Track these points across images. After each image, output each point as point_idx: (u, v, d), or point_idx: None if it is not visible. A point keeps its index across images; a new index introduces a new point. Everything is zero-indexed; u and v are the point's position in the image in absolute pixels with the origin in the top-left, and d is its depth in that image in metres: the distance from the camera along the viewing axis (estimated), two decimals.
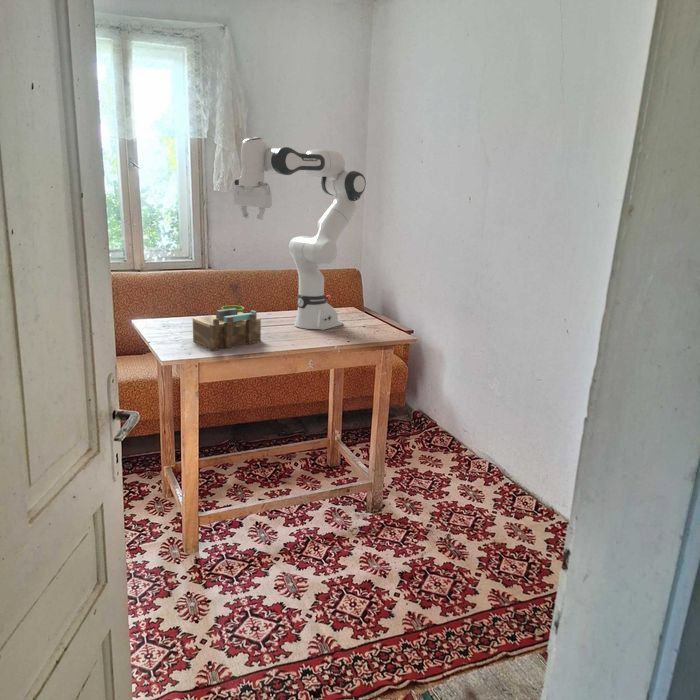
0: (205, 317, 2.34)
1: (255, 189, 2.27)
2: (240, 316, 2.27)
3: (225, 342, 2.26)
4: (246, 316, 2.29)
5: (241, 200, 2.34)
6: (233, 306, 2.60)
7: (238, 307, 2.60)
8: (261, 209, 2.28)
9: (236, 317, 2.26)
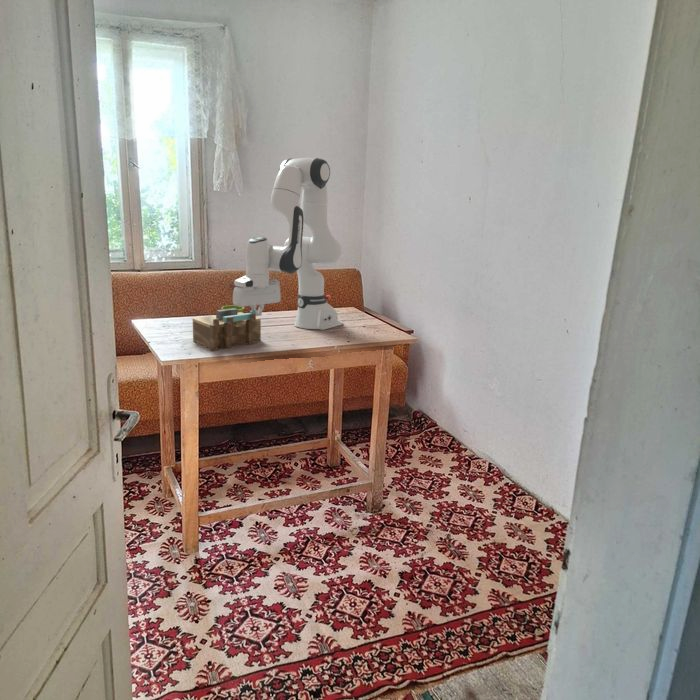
0: (205, 317, 2.34)
1: (269, 287, 2.32)
2: (239, 316, 2.27)
3: (225, 342, 2.26)
4: (245, 316, 2.29)
5: (249, 300, 2.27)
6: (233, 306, 2.60)
7: (238, 307, 2.60)
8: None
9: (235, 317, 2.26)
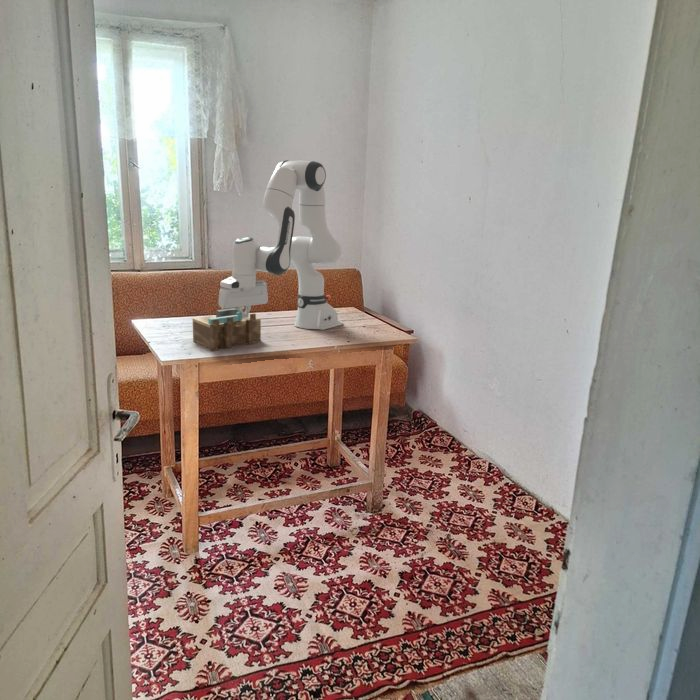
0: (205, 317, 2.34)
1: (256, 288, 2.28)
2: (225, 318, 2.23)
3: (225, 342, 2.26)
4: None
5: (236, 301, 2.23)
6: None
7: None
8: None
9: (221, 319, 2.22)
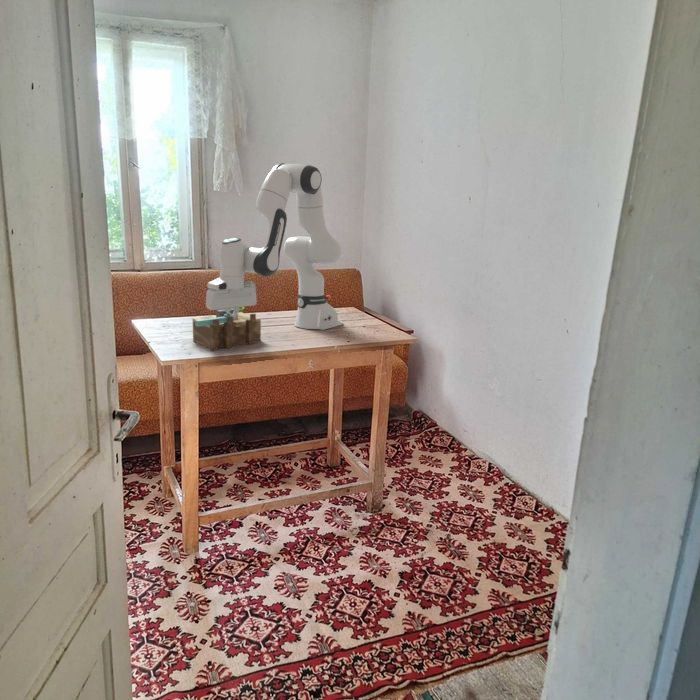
0: (205, 317, 2.34)
1: (244, 289, 2.24)
2: (212, 320, 2.19)
3: (225, 342, 2.26)
4: (219, 320, 2.21)
5: (223, 303, 2.19)
6: None
7: None
8: None
9: (208, 321, 2.18)
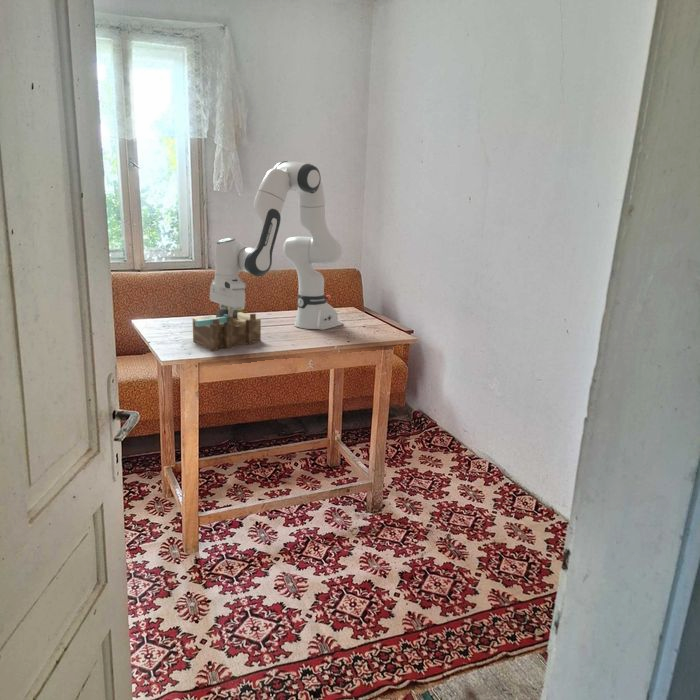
0: (205, 317, 2.34)
1: None
2: (212, 320, 2.19)
3: (225, 342, 2.26)
4: (219, 320, 2.21)
5: None
6: None
7: None
8: None
9: (208, 321, 2.18)
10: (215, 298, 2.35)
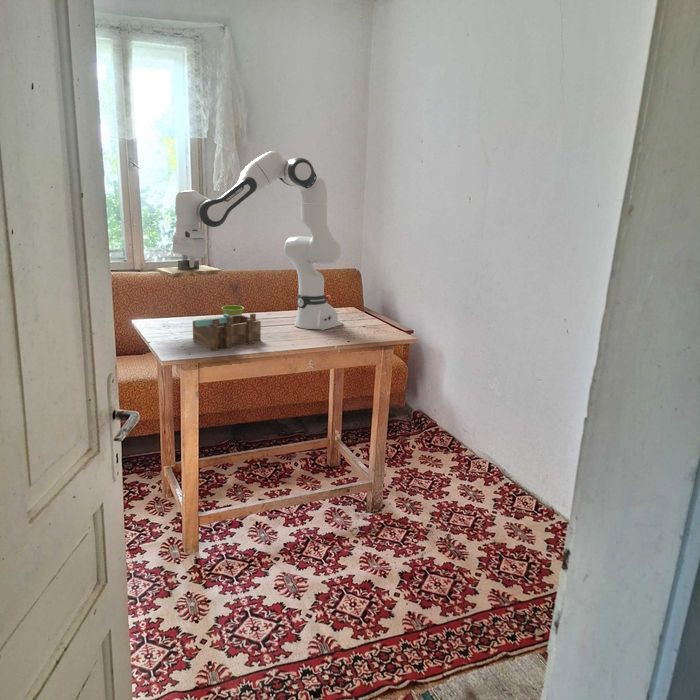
0: (167, 268, 2.43)
1: None
2: (212, 320, 2.19)
3: (225, 342, 2.26)
4: (219, 320, 2.21)
5: None
6: (233, 306, 2.60)
7: (238, 307, 2.60)
8: None
9: (208, 321, 2.18)
10: (177, 249, 2.43)
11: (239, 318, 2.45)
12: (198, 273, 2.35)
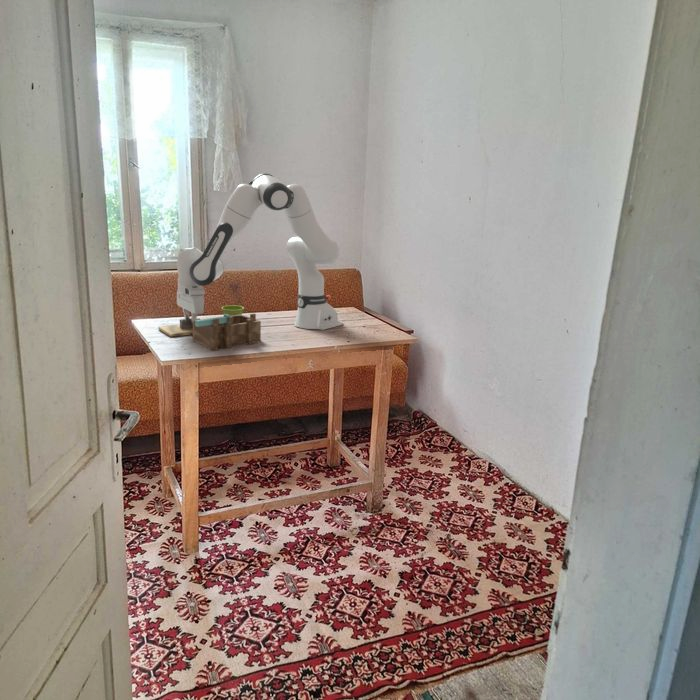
0: (171, 326, 2.50)
1: None
2: (212, 320, 2.19)
3: (225, 342, 2.26)
4: (219, 320, 2.21)
5: None
6: (233, 306, 2.60)
7: (238, 307, 2.60)
8: None
9: (208, 321, 2.18)
10: (180, 303, 2.50)
11: (239, 318, 2.45)
12: None
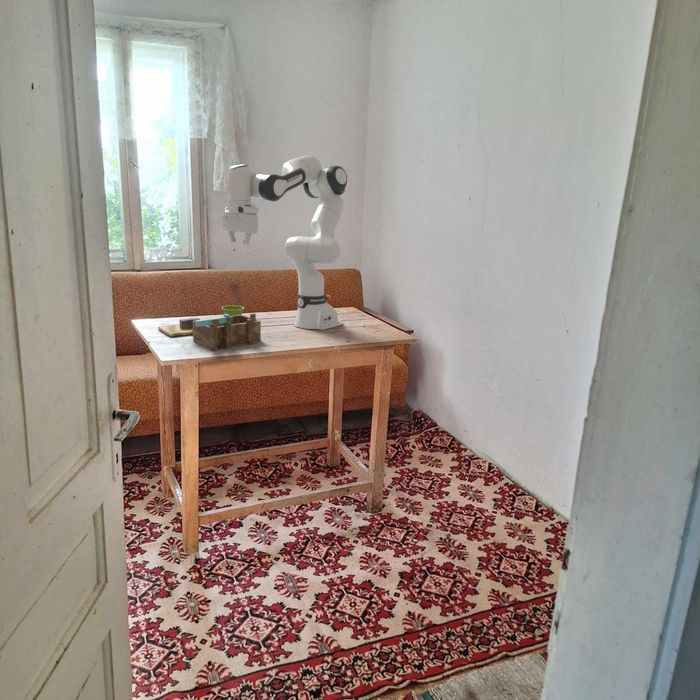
0: (170, 325, 2.50)
1: None
2: (212, 320, 2.19)
3: (225, 342, 2.26)
4: (219, 320, 2.21)
5: None
6: (233, 306, 2.60)
7: (238, 307, 2.60)
8: None
9: (208, 321, 2.18)
10: (228, 225, 2.38)
11: (239, 318, 2.45)
12: None
